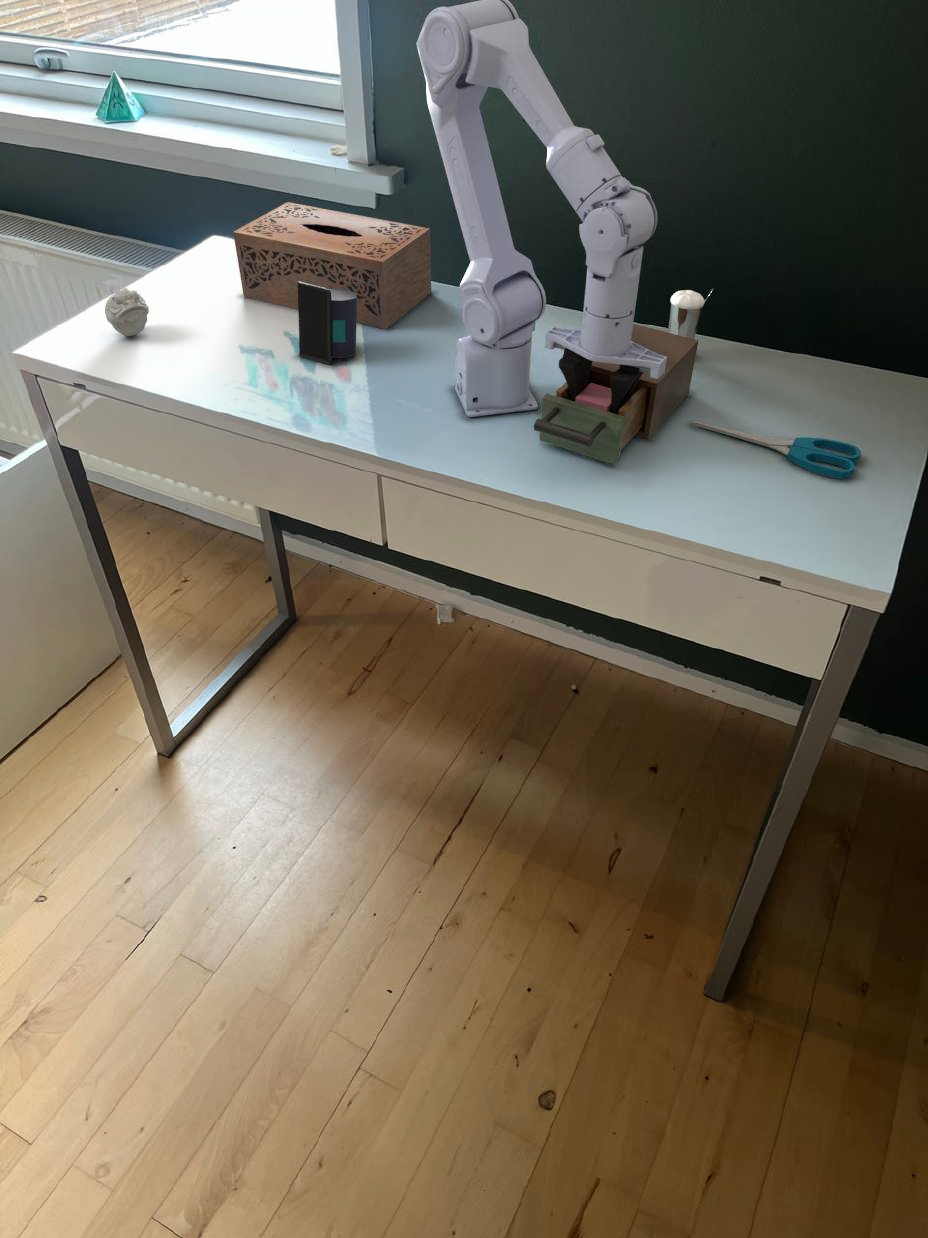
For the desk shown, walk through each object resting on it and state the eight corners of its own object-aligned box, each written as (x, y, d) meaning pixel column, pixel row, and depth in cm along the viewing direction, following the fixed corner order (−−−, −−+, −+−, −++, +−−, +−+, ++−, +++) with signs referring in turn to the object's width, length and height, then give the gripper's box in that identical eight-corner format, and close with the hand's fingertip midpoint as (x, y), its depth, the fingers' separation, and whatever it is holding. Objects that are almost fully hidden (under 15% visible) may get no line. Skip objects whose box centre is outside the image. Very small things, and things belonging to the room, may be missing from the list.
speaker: (321, 369, 127) (317, 293, 120) (299, 356, 130) (294, 282, 124) (366, 358, 131) (365, 284, 125) (343, 345, 134) (341, 273, 128)
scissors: (851, 474, 107) (685, 432, 114) (849, 481, 107) (684, 438, 115) (863, 447, 111) (703, 407, 118) (861, 454, 112) (701, 414, 119)
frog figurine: (123, 349, 132) (110, 302, 127) (103, 332, 136) (90, 285, 131) (162, 337, 134) (151, 290, 130) (142, 320, 138) (130, 274, 134)
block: (603, 437, 111) (607, 406, 108) (572, 427, 112) (575, 397, 110) (618, 422, 113) (622, 391, 111) (587, 412, 115) (591, 382, 112)
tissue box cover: (431, 292, 146) (429, 228, 139) (386, 329, 136) (382, 262, 130) (295, 263, 154) (287, 201, 147) (243, 296, 145) (233, 231, 138)
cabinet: (648, 439, 114) (657, 383, 109) (566, 414, 119) (571, 359, 114) (688, 393, 123) (698, 340, 118) (610, 371, 127) (617, 319, 122)
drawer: (596, 485, 106) (602, 440, 102) (519, 459, 110) (521, 415, 106) (656, 418, 116) (663, 376, 112) (584, 397, 120) (588, 355, 116)
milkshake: (699, 364, 129) (713, 295, 122) (661, 361, 129) (672, 291, 123) (700, 350, 132) (713, 281, 125) (662, 346, 133) (673, 278, 126)
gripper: (684, 309, 102) (665, 416, 112) (567, 280, 108) (559, 385, 117) (659, 333, 98) (641, 443, 107) (539, 302, 104) (532, 409, 113)
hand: (597, 415), depth 112 cm, fingers closed on block, 4 cm apart
